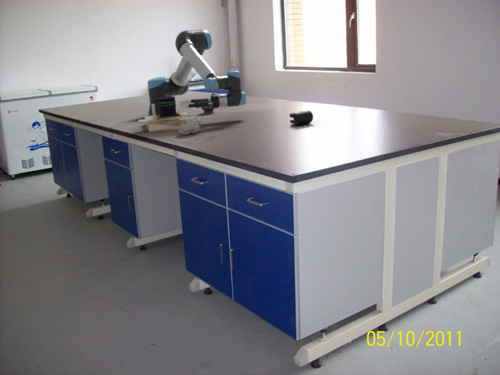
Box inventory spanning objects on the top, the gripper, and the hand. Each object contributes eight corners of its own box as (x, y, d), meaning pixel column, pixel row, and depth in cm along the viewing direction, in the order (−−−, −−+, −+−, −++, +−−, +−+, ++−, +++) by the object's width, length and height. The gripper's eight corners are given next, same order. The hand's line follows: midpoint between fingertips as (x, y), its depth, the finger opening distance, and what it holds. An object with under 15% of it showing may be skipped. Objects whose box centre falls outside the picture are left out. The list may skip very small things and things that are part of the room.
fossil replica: (174, 135, 255) (190, 138, 250) (172, 119, 252) (188, 122, 247) (189, 129, 264) (204, 131, 259) (187, 113, 261) (203, 115, 256)
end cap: (298, 127, 253) (298, 113, 251) (289, 126, 259) (288, 112, 257) (313, 124, 259) (313, 110, 257) (304, 123, 264) (303, 109, 262)
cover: (138, 121, 276) (136, 105, 273) (155, 119, 278) (153, 103, 275) (139, 123, 267) (137, 107, 265) (156, 121, 270) (154, 105, 267)
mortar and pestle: (205, 114, 317) (203, 95, 314) (198, 113, 325) (196, 94, 321) (221, 112, 323) (219, 92, 320) (213, 110, 330) (211, 92, 327)
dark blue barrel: (157, 125, 289) (154, 98, 285) (166, 122, 298) (163, 96, 294) (172, 125, 286) (169, 98, 281) (181, 122, 294) (178, 96, 290)
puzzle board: (145, 124, 296) (144, 115, 294) (186, 119, 301) (185, 110, 300) (149, 132, 268) (148, 122, 266) (194, 127, 274) (193, 117, 272)
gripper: (223, 110, 276) (184, 114, 271) (215, 105, 299) (179, 108, 294) (222, 96, 274) (183, 100, 269) (213, 92, 297) (177, 95, 292)
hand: (180, 104), depth 282 cm, fingers open, 13 cm apart
